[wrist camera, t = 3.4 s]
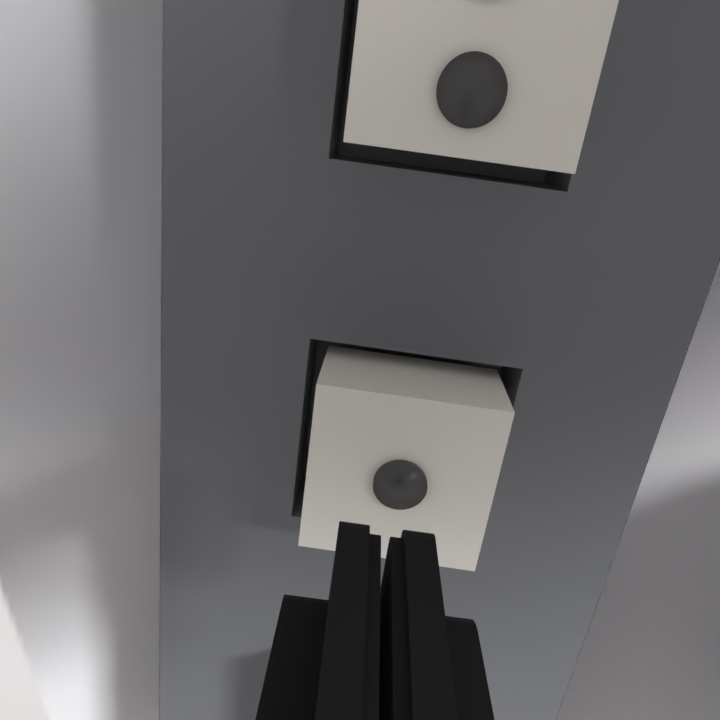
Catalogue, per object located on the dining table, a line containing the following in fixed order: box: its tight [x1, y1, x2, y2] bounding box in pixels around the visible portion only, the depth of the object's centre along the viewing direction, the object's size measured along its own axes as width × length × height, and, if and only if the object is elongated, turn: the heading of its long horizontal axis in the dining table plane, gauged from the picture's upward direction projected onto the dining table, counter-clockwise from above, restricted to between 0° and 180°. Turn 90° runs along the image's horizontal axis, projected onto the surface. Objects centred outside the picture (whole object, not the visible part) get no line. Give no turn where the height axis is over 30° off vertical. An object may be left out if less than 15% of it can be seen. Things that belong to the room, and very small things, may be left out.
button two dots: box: [343, 0, 619, 174], centre depth 11 cm, size 4×4×2 cm
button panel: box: [159, 0, 720, 720], centre depth 16 cm, size 30×12×3 cm, turn 173°
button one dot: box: [298, 346, 515, 571], centre depth 14 cm, size 4×4×3 cm
